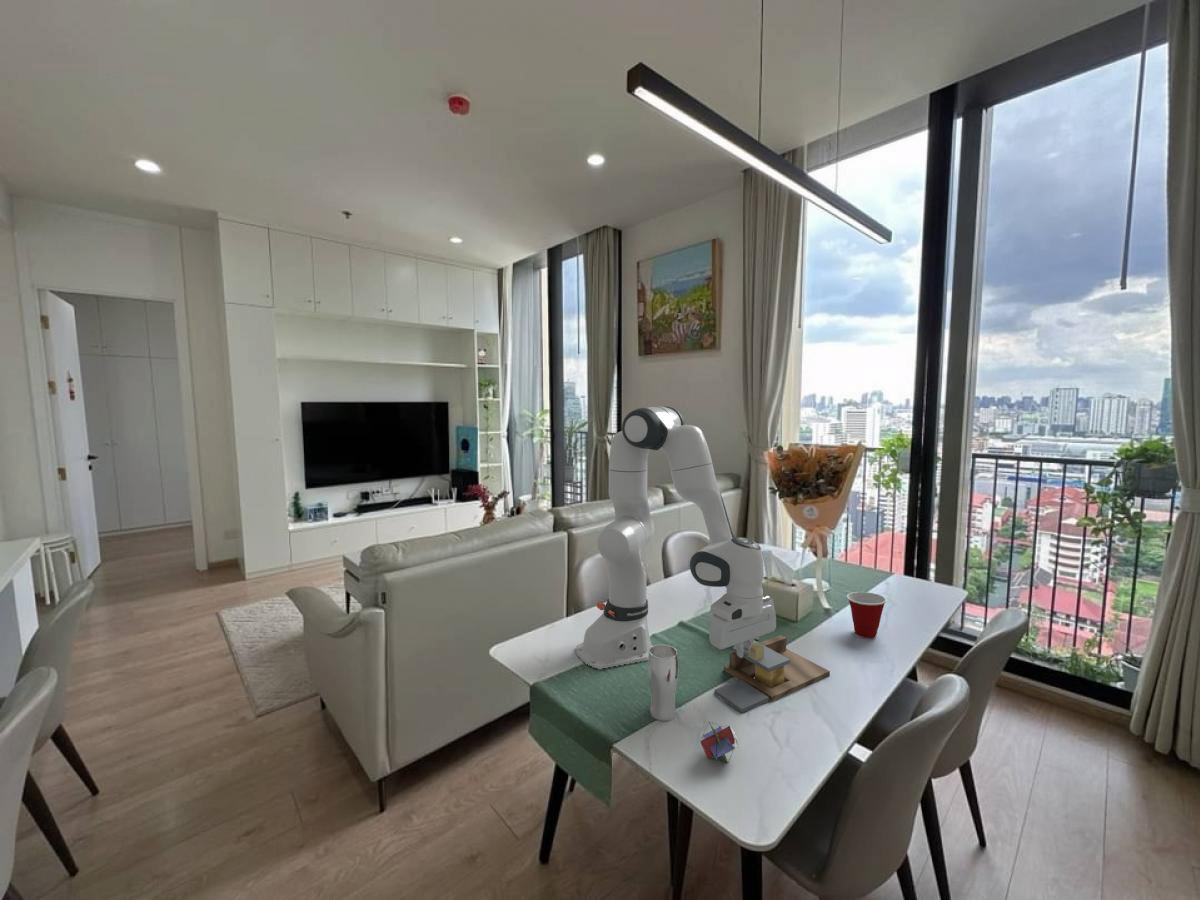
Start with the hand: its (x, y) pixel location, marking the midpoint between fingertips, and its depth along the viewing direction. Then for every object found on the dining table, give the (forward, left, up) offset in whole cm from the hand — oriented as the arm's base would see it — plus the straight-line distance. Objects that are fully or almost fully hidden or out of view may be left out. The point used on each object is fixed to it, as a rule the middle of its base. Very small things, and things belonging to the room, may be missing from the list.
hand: (743, 655), depth 124 cm
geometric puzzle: (-24, -16, -8) cm, 30 cm away
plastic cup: (+52, 0, -8) cm, 53 cm away
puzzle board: (+11, -1, -8) cm, 14 cm away
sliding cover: (+6, 0, -2) cm, 7 cm away
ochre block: (+6, -3, -8) cm, 10 cm away
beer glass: (-25, +1, -8) cm, 26 cm away
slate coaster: (-5, -4, -8) cm, 10 cm away
